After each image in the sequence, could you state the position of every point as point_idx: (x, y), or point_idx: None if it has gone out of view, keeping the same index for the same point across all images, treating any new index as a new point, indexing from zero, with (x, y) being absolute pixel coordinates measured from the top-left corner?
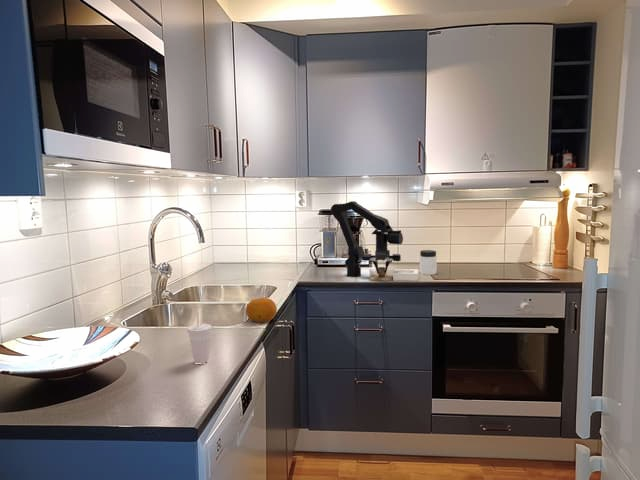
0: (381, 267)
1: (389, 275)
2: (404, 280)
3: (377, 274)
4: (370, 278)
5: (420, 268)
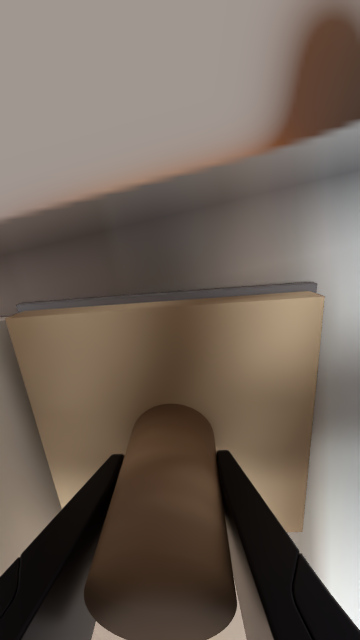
0: (162, 599)
1: None
2: None
3: None
4: (315, 295)
5: None
